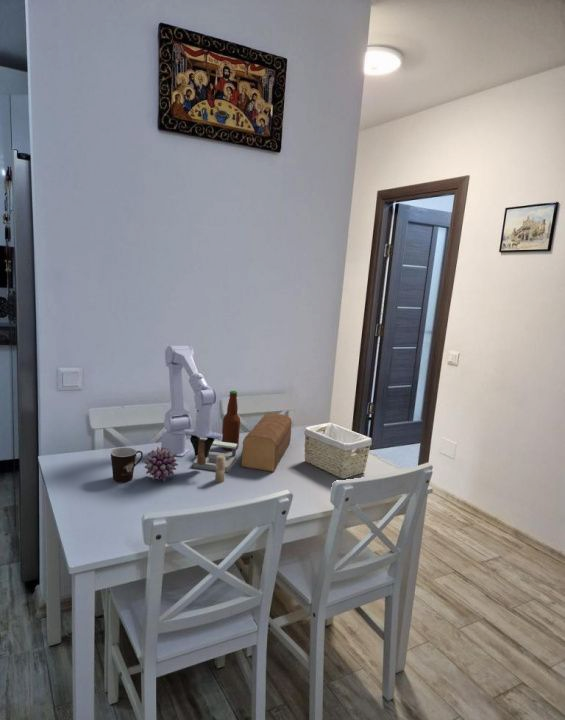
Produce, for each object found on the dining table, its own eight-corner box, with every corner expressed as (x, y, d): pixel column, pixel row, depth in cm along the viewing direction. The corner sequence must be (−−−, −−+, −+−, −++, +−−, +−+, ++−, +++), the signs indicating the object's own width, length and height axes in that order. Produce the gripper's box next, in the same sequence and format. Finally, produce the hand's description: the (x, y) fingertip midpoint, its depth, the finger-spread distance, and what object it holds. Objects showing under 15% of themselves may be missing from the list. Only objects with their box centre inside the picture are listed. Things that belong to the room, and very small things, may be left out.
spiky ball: (175, 487, 166) (176, 454, 164) (139, 485, 165) (140, 452, 163) (179, 473, 177) (181, 442, 175) (146, 471, 176) (147, 441, 174)
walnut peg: (195, 464, 179) (197, 441, 178) (198, 460, 183) (199, 438, 181) (203, 465, 179) (205, 442, 177) (206, 462, 182) (208, 439, 181)
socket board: (192, 467, 184) (193, 450, 183) (203, 455, 196) (204, 439, 195) (228, 472, 182) (229, 455, 181) (236, 459, 195) (237, 443, 193)
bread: (290, 444, 218) (293, 414, 215) (274, 473, 185) (277, 438, 182) (260, 440, 220) (263, 410, 218) (239, 467, 187) (242, 432, 185)
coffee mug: (111, 485, 163) (112, 457, 161) (108, 475, 171) (108, 448, 169) (146, 481, 169) (147, 454, 167) (141, 471, 176) (142, 445, 174)
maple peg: (214, 481, 173) (215, 458, 171) (216, 478, 176) (218, 454, 174) (222, 483, 172) (224, 459, 171) (225, 479, 176) (226, 456, 174)
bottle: (237, 445, 211) (241, 389, 207) (238, 451, 204) (242, 394, 200) (221, 444, 210) (224, 388, 206) (221, 450, 203) (225, 393, 199)
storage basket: (299, 460, 200) (303, 426, 197) (327, 453, 210) (330, 421, 208) (342, 482, 182) (346, 445, 180) (369, 473, 193) (374, 438, 190)
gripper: (181, 421, 175) (179, 456, 177) (219, 426, 173) (217, 462, 175) (187, 416, 182) (185, 450, 184) (224, 421, 180) (222, 455, 182)
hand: (201, 455), depth 180 cm, fingers closed on walnut peg, 3 cm apart
